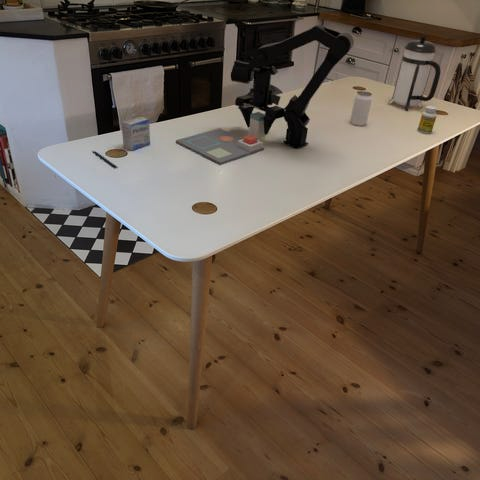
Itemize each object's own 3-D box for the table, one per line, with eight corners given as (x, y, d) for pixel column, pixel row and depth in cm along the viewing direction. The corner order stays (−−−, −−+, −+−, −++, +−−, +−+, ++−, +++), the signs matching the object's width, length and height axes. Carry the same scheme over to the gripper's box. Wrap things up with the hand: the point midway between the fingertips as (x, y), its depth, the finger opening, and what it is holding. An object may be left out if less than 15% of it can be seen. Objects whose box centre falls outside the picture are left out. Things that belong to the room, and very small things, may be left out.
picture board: (264, 149, 155) (264, 142, 154) (220, 164, 143) (220, 157, 141) (219, 130, 168) (219, 123, 166) (175, 142, 155) (175, 135, 154)
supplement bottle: (429, 129, 184) (436, 105, 178) (433, 134, 179) (440, 110, 174) (415, 128, 184) (422, 104, 179) (418, 133, 179) (426, 108, 174)
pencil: (114, 169, 136) (90, 152, 145) (117, 169, 137) (93, 151, 145) (114, 167, 135) (90, 149, 144) (117, 166, 136) (93, 149, 145)
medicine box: (132, 151, 147) (130, 125, 142) (123, 147, 149) (120, 121, 144) (150, 144, 152) (149, 119, 148) (141, 141, 155) (139, 115, 150)
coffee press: (387, 109, 203) (405, 35, 186) (388, 99, 216) (405, 29, 199) (428, 115, 199) (450, 41, 183) (427, 105, 212) (447, 34, 196)
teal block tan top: (264, 136, 165) (266, 115, 161) (257, 139, 163) (259, 117, 158) (256, 133, 167) (258, 111, 163) (248, 135, 165) (250, 113, 161)
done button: (256, 143, 154) (257, 138, 153) (249, 145, 152) (250, 140, 151) (249, 140, 156) (250, 135, 155) (243, 142, 154) (243, 137, 153)
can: (365, 121, 187) (371, 91, 180) (367, 127, 181) (374, 96, 175) (349, 119, 187) (355, 90, 180) (350, 125, 182) (356, 94, 175)
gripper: (298, 89, 155) (292, 133, 164) (257, 76, 166) (254, 118, 174) (276, 94, 148) (271, 140, 157) (235, 80, 159) (232, 124, 167)
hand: (257, 130), depth 164 cm, fingers open, 8 cm apart
